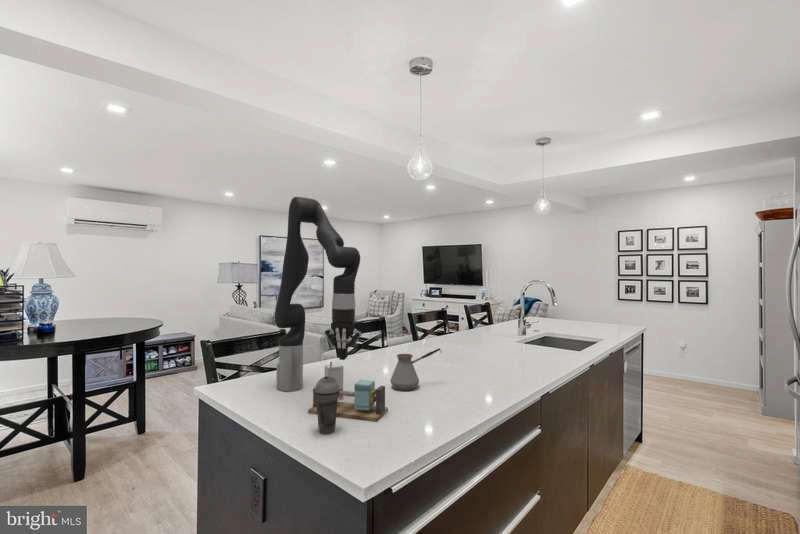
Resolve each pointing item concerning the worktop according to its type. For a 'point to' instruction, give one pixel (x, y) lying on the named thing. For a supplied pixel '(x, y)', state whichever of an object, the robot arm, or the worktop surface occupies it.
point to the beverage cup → (326, 403)
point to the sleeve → (363, 394)
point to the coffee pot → (406, 372)
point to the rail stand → (349, 412)
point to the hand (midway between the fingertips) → (342, 359)
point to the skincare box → (336, 375)
